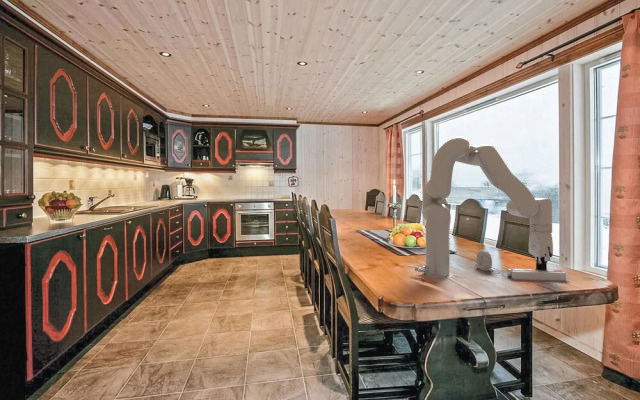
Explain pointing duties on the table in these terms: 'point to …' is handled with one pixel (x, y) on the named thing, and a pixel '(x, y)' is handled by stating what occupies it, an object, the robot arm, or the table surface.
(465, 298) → the table surface
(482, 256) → the grey rounded slab
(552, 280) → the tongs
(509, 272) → the arm
